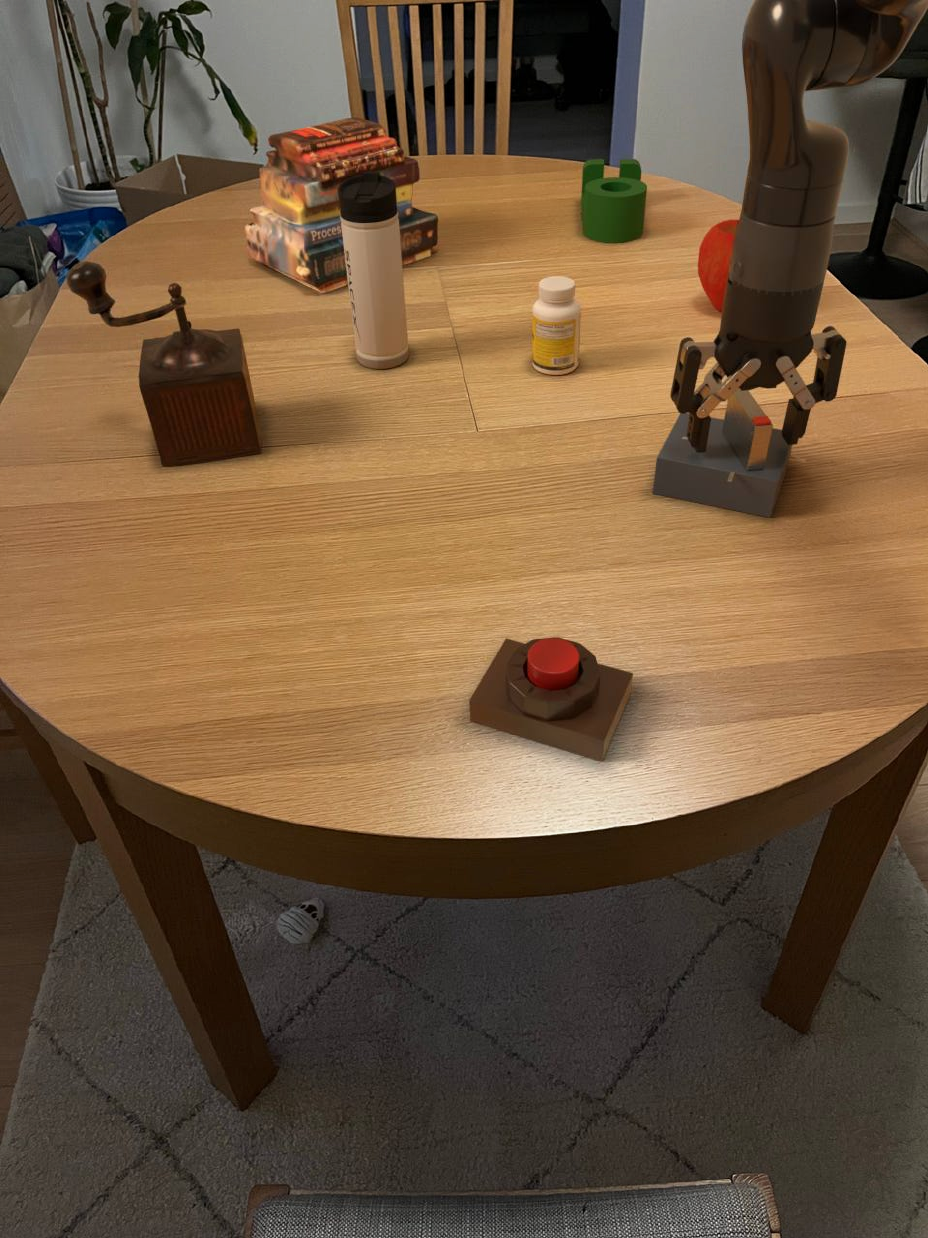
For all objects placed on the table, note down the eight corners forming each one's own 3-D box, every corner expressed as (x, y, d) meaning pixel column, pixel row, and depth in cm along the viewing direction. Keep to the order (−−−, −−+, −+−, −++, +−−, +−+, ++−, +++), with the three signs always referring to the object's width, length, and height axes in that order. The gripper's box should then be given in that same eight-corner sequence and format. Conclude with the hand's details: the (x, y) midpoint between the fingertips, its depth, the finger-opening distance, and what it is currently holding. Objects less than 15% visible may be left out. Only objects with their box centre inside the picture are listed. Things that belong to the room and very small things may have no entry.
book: (311, 300, 125) (290, 163, 113) (242, 264, 135) (217, 136, 124) (441, 253, 135) (434, 124, 124) (368, 224, 146) (356, 102, 134)
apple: (773, 314, 117) (791, 225, 109) (718, 328, 114) (732, 239, 107) (730, 290, 123) (744, 204, 115) (677, 303, 120) (688, 217, 113)
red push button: (585, 663, 66) (586, 645, 65) (568, 696, 64) (569, 679, 63) (537, 650, 68) (538, 632, 66) (519, 682, 65) (519, 665, 64)
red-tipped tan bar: (721, 431, 89) (729, 385, 85) (738, 429, 89) (746, 384, 85) (746, 470, 83) (756, 424, 80) (764, 469, 83) (774, 422, 80)
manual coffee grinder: (258, 403, 104) (225, 239, 92) (263, 454, 96) (228, 282, 84) (115, 422, 102) (63, 257, 90) (108, 476, 94) (50, 302, 82)
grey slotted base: (805, 467, 91) (814, 430, 88) (785, 531, 83) (794, 492, 80) (677, 443, 95) (682, 407, 92) (647, 502, 87) (652, 464, 84)
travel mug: (413, 345, 114) (400, 170, 100) (404, 370, 109) (390, 190, 95) (362, 344, 114) (343, 170, 101) (352, 369, 109) (330, 190, 96)
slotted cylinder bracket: (644, 242, 136) (649, 196, 132) (583, 242, 137) (585, 197, 133) (637, 201, 150) (641, 158, 145) (581, 201, 150) (583, 159, 146)
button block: (630, 693, 69) (635, 655, 66) (602, 762, 64) (606, 723, 62) (505, 658, 72) (505, 620, 70) (469, 721, 68) (468, 682, 65)
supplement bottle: (546, 351, 111) (548, 269, 105) (586, 361, 109) (591, 278, 102) (522, 369, 108) (523, 286, 101) (563, 380, 106) (567, 296, 99)
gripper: (844, 246, 78) (803, 418, 89) (677, 258, 77) (656, 430, 88) (882, 281, 72) (834, 460, 83) (703, 294, 72) (678, 473, 82)
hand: (743, 444), depth 86 cm, fingers open, 8 cm apart
